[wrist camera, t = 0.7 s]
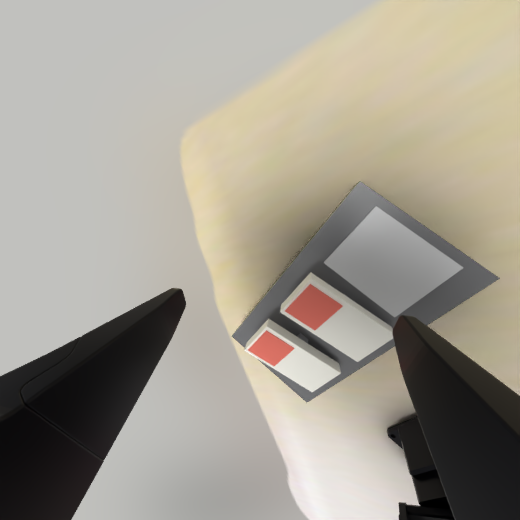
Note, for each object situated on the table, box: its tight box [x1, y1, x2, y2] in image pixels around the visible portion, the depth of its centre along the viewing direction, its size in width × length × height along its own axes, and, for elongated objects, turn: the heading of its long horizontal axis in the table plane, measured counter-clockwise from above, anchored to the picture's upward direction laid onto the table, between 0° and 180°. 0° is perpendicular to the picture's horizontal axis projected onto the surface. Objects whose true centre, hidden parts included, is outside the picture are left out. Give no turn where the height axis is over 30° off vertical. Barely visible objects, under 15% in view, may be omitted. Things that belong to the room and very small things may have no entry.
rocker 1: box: [244, 319, 341, 392], centre depth 18 cm, size 8×4×1 cm, turn 56°
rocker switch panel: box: [232, 181, 500, 402], centre depth 19 cm, size 11×20×4 cm, turn 147°
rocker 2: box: [280, 273, 393, 362], centre depth 16 cm, size 8×4×1 cm, turn 56°
